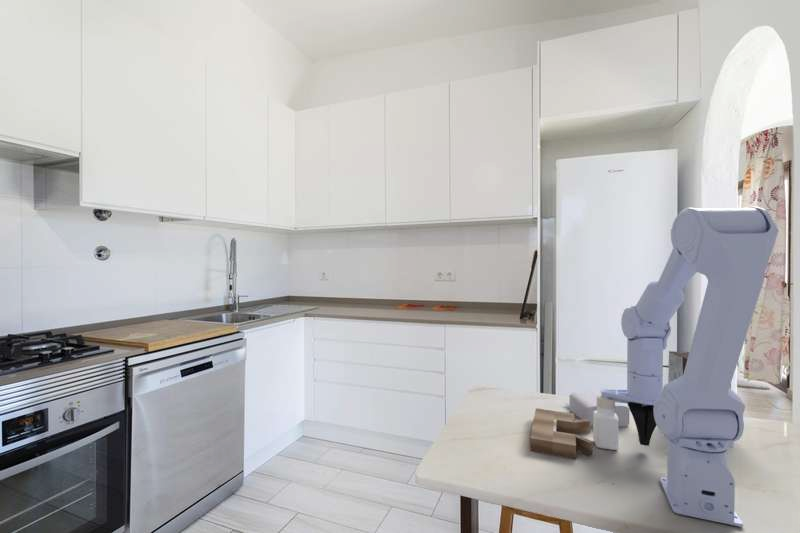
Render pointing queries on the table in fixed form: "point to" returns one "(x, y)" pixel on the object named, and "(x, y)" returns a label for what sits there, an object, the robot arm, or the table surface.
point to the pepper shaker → (606, 424)
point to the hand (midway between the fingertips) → (643, 443)
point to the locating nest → (559, 434)
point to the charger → (595, 407)
